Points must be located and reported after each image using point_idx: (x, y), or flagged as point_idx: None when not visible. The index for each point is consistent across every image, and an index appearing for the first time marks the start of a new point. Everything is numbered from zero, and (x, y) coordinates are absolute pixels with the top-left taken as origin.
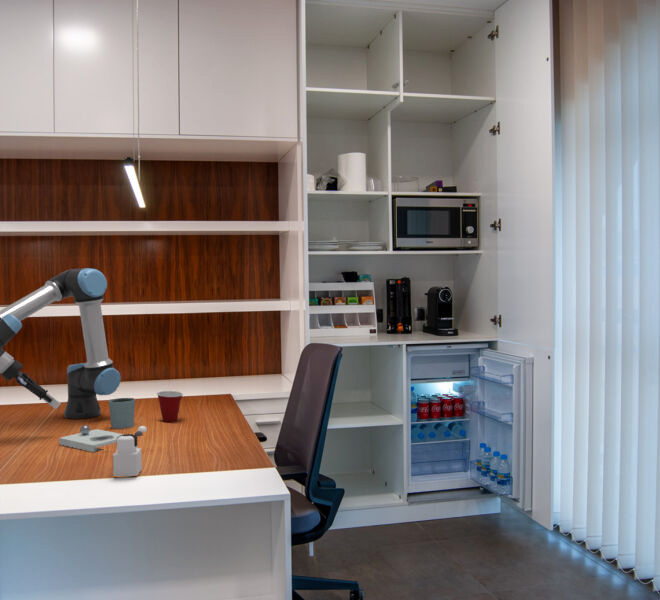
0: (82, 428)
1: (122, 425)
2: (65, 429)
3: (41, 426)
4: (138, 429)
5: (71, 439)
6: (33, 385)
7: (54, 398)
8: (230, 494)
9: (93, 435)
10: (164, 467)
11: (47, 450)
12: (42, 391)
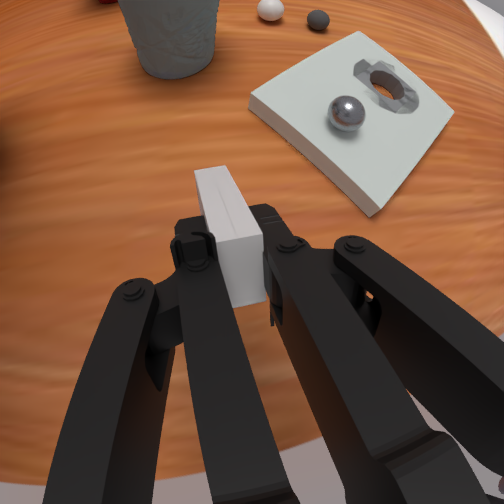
0: (364, 115)
1: (214, 35)
2: (87, 246)
3: (13, 360)
4: (279, 11)
5: (405, 163)
6: (501, 343)
7: (215, 193)
8: None
9: None
10: (486, 51)
11: (432, 244)
12: (382, 255)
